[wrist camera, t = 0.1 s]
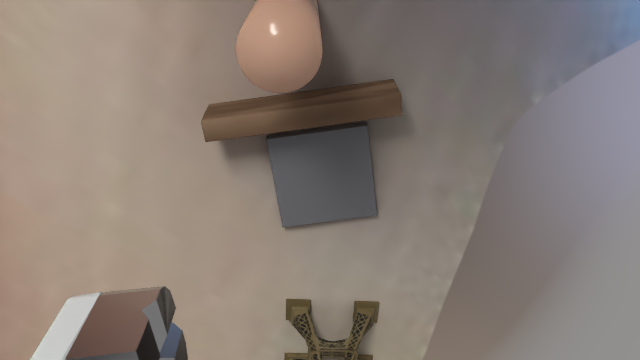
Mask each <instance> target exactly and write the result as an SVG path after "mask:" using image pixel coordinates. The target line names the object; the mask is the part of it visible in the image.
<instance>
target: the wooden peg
mask: <svg viewBox="0 0 640 360" xmlns="http://www.w3.org/2000/svg"><path fill="white" fill-rule="evenodd" d="M236 54H237V60H238V63H239V66H240V68H241V70H242V72H243V73H244V75H245V76H246V77H247V78H248V79H249V80H250V81H251V82H252V83H253V84H254V85H256V86H257V87H259V88H261V89H263V90H266V91H269V92H274V93H287V92H292V91H295V90H298V89H300V88H302V87H303V86H305V85H306V84H307V83H308V82H310V81H311V80H312V78H313V77H314V76H315V74H316V73H317V71H318V69H319V67H320V64H321V61H322V54H323V48H322V38H321V30H320V21H319V13H318V4H317V0H256V2H255V4H254V6H253V7H252V9H251V11H250V13H249V15H248V17H247V19H246V21H245V22H244V24H243V26H242V28H241V30H240V32H239V35H238V38H237V43H236Z"/></svg>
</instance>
